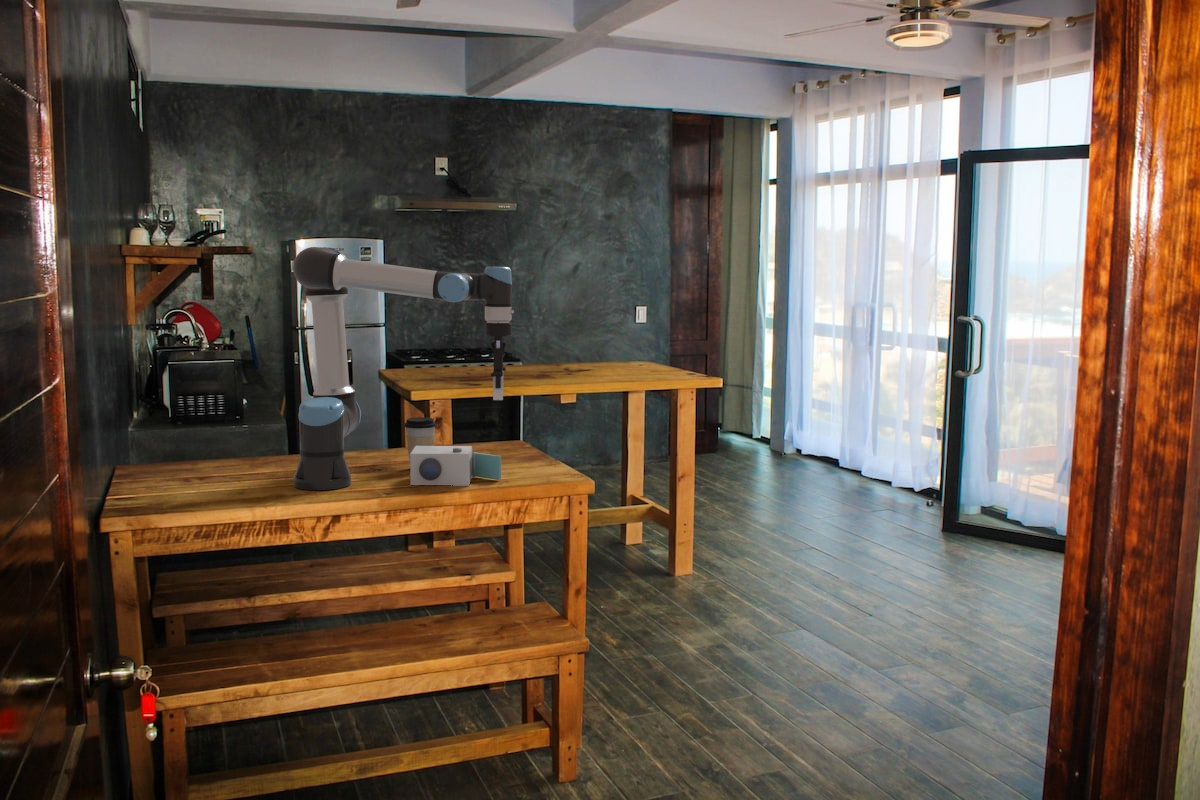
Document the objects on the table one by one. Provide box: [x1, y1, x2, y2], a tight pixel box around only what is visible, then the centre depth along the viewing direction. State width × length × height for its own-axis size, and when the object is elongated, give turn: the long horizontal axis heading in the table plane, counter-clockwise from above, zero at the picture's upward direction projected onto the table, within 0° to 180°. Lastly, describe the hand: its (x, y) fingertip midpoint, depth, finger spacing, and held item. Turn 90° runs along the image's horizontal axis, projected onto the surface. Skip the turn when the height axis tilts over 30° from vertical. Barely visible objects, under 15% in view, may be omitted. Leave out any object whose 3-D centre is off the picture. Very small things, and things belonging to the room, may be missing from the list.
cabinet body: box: [409, 445, 473, 487], centre depth 276 cm, size 16×13×10 cm
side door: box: [472, 451, 502, 481], centre depth 281 cm, size 10×2×7 cm, turn 59°
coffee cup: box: [403, 416, 437, 460], centre depth 293 cm, size 9×9×15 cm
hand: (498, 396), depth 280 cm, fingers open, 13 cm apart
